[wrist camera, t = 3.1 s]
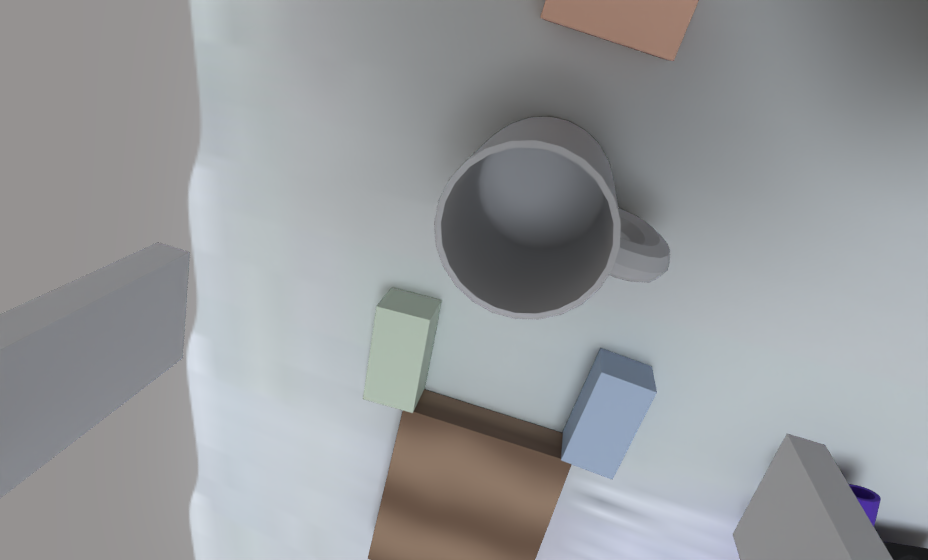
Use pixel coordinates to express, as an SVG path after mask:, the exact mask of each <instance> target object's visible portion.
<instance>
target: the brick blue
mask: <svg viewBox="0 0 928 560" xmlns="http://www.w3.org/2000/svg"><path fill="white" fill-rule="evenodd" d="M656 393H657V391H656V386H655V380H654V375H653V370H652V366H649V365H646V364H644V363H641V362H638V361H635V360H633V359H630V358H627V357H624V356H622V355H619V354H616V353H613V352H611V351H608V350H605V349H602V348H600V350H599V352H598V355H597V357H596V359H595V361H594V364H593V366H592V368H591V370H590V372H589V375H588V377H587V379H586V381H585V384H584V386H583V388H582V390H581V392H580V395H579V397H578V399H577V401H576V404H575V406H574V408H573V410H572V412H571V415H570V417H569V419H568V421H567V424H566V426H565V428H564V430H563V438H562V452H561V460H562V461H564V462H567V463H569V464H572V465H575V466H577V467H580V468H583V469H585V470H588V471H591V472H593V473H596V474H599V475H601V476H604V477H607V478H609V479H613V477H614V475H615V474H616V472H617V470H618V468H619V466H620V464H621V462H622V460H623V458H624V456H625V454H626V452H627V450H628V448H629V446H630V444H631V442H632V440H633V438H634V436H635V434H636V432H637V430H638V428H639V426H640V424H641V423H642V421H643V419H644V417H645V415H646V413H647V411H648V409H649V407H650V405H651V403H652V401H653V399H654V397H655V395H656Z"/></svg>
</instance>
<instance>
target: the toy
mask: <svg viewBox="0 0 928 560" xmlns="http://www.w3.org/2000/svg"><path fill="white" fill-rule="evenodd" d="M848 485H849V486H850V488H851V490H852V491H853V493H854V495H855V496H856V498H857V500H858V501H859V503H860V505H861V506H862V508H863V510H864V511H865V513H866V515H867V517H868V518H869V520H870V522H871V523H872V525H873V527H874V525H875V521H876V517H877V512H878V508H879V504H880V500H881V499H880V496H879V495H878V494H876V493H875V492H873V491H871V490H869V489H867V488H864V487H861V486H857V485H851V484H848ZM882 542H883V541H882ZM883 543H884V545H885V547H886V548H887V550H888V552H889V554H890V555H891V557H892V559H893V560H928V549H927V548H920V547H914V546H908V545H902V544H895V543H889V542H883Z"/></svg>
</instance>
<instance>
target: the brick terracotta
mask: <svg viewBox="0 0 928 560" xmlns="http://www.w3.org/2000/svg"><path fill="white" fill-rule="evenodd" d="M698 1H699V0H546V1H545V4H544V7H543V10H542V13H541V17H540V18H542V19H544V20H547V21H550V22H553V23H556V24H559V25H562V26H565V27H568V28H571V29H574V30H577V31H580V32H583V33H586V34H589V35H592V36H595V37H598V38H602V39H605V40H608V41H611V42H614V43H617V44H620V45H623V46H626V47H629V48H632V49H635V50H638V51H641V52H644V53H647V54H650V55H653V56H656V57H659V58H663V59H666V60H670V61H674V59H675V57H676V54H677V52H678V49H679V47H680V44H681V42H682V40H683V37H684V35H685V32H686V30H687V28H688V25H689V23H690V20H691V18H692V16H693V13H694V11H695V8H696V6H697V3H698Z"/></svg>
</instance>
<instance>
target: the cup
mask: <svg viewBox="0 0 928 560" xmlns="http://www.w3.org/2000/svg"><path fill="white" fill-rule="evenodd" d="M434 225H435V239H436V247H437V250H438V253H439V256H440V259H441V262H442V265H443V267H444V269H445V270H446V272H447V273H448V275H449V276H450V278H451V279H452V281H453V283H454V284H455V286H456V287H457V288H458V289H460V290H461V291H462V292H463V293H464V294H465V295H466V296H467V297H468V298H469V299H470V300H472V301H473V302H474V303H476V304H478V305H480V306H482V307H483V308H485V309H487V310H489V311H491V312H492V313H496V314H499V315H503V316H507V317H510V318H514V319H543V318H547V317H552V316H557V315H561V314H563V313H565V312H567V311H569V310H571V309H573V308H575V307H577V306H579V305H581V304H583V303H584V302H585V301H586V300H587V299H588V298H590V297H591V296H592V295H593V294H594V293H595V292H596V291H598V290H599V289H600V287H601V286H602V284H603V283H604V281H605V280H606V278H607V277H608V275H610V276H613V277H616V278H619V279H623V280H627V281H634V282H648V283H649V282H651V281H653V280H656V279H657V278H658V277H659V276H661V275H662V274H663V273H664V272H666V271H667V270H668V267H669V258H670V249H669V247H668V244H667V243H666V241H665V240H664V239H663V238H662V236H661V235H660V234H659V233H658V232H657V231H656V230H654V229H653V228H652V227H651V226H650V225H649V224H648V223H646V222H645V221H643V220H642V219H640V218H639V217H637V216H635V215H633V214H631V213H629V212H627V211H625V210H622V209H620V208H618V203H617V197H616V191H615V185H614V179H613V175H612V171H611V167H610V163H609V161H608V159H607V157H606V155H605V154H604V152H603V150H602V148H601V146H600V145H599V143H598V142H597V141H596V140H595V139H594V138H593V137H592V136H591V135H590V134H589V133H588V132H587V131H586V130H584V129H582V128H580V127H579V126H577V125H575V124H573V123H571V122H570V121H567V120H562V119H558V118H554V117H530V118H527V119H524V120H521V121H517V122H514V123H511V124H510V125H508V126H507V127H505V128H503V129H502V130H500V131H499V132H497V133H496V134H494V135H493V136H492V137H491V138H490V139H489V140H488V141H487V142H486V143H485V144H484V145H482V146H481V147H480V148H479V149H478V150H477V151H476V152H475V153H474V154H473V155H472V156H471V157H470V158H469V159H467V160H466V161H465V162H464V164H463V165H462V166H461V167H460V168H459V169H458V170H457V171H456V172H455V173H454V175H453V176H452V177H451V178H450V179H449V181H448V183H447V185H446V187H445V189H444V191H443V193H442V195H441V197H440V199H439V202H438V207H437V212H436V217H435V222H434Z"/></svg>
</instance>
